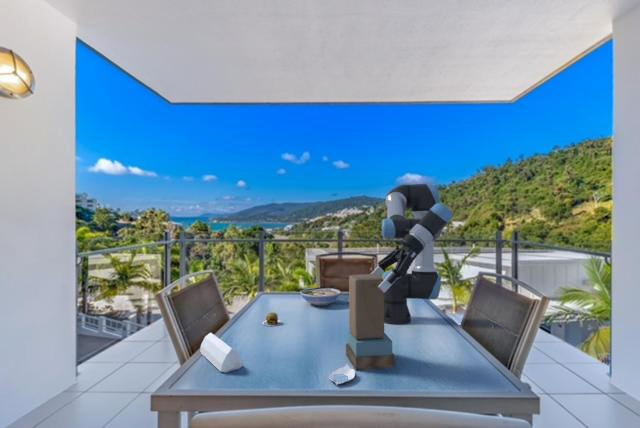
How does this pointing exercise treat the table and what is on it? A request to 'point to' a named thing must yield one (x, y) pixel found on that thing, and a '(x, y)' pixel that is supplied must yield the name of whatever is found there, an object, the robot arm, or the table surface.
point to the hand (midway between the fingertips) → (374, 285)
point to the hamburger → (272, 319)
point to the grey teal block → (370, 346)
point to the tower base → (370, 361)
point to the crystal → (220, 354)
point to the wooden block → (366, 306)
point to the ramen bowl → (320, 295)
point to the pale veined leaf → (343, 370)
